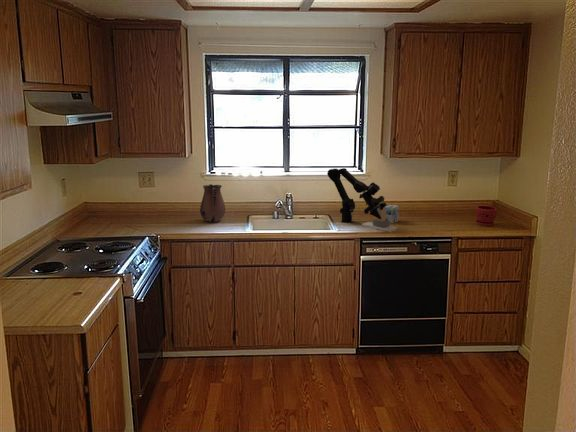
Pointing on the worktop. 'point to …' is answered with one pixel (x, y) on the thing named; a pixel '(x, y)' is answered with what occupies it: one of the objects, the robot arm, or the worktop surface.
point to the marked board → (379, 227)
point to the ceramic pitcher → (212, 203)
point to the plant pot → (485, 215)
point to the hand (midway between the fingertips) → (382, 218)
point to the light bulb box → (392, 213)
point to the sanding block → (382, 221)
